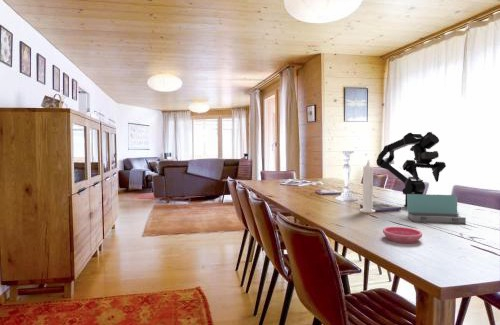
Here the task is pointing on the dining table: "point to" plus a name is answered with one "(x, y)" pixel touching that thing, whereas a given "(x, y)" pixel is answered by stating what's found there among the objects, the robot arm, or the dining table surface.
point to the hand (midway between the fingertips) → (427, 180)
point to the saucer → (402, 234)
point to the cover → (432, 203)
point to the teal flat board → (436, 217)
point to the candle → (367, 189)
